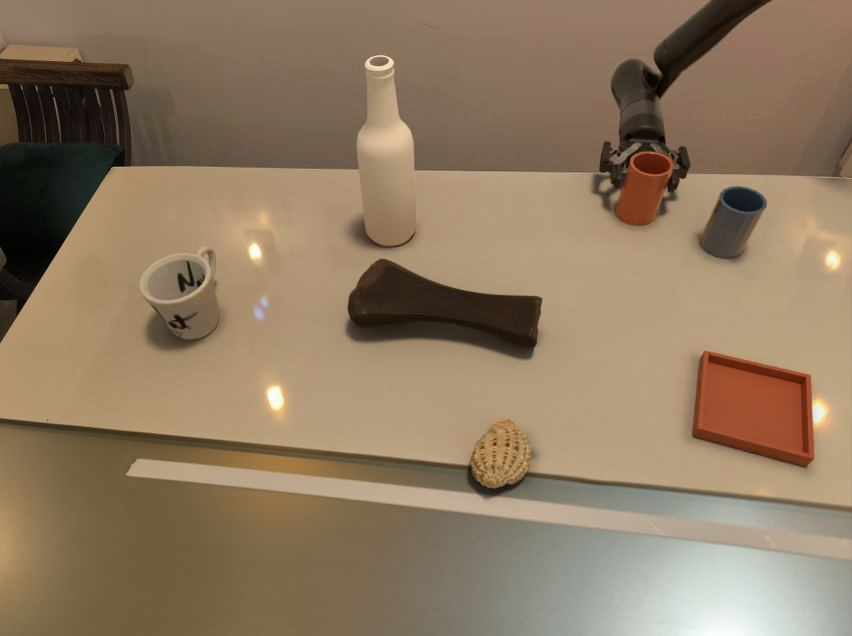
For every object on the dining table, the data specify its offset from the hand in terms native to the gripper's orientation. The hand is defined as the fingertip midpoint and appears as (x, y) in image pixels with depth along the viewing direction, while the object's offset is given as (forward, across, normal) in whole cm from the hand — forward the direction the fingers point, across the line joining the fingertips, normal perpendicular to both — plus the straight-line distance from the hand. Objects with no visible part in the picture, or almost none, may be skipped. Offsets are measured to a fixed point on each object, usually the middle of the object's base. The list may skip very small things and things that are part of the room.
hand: (645, 186), depth 100 cm
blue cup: (+6, +13, +6) cm, 15 cm away
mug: (+34, -67, +6) cm, 75 cm away
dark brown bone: (+30, -29, +6) cm, 42 cm away
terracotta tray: (+38, +13, +6) cm, 41 cm away
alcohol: (+10, -41, +6) cm, 43 cm away
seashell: (+51, -18, +6) cm, 55 cm away
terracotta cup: (0, 0, +6) cm, 6 cm away
